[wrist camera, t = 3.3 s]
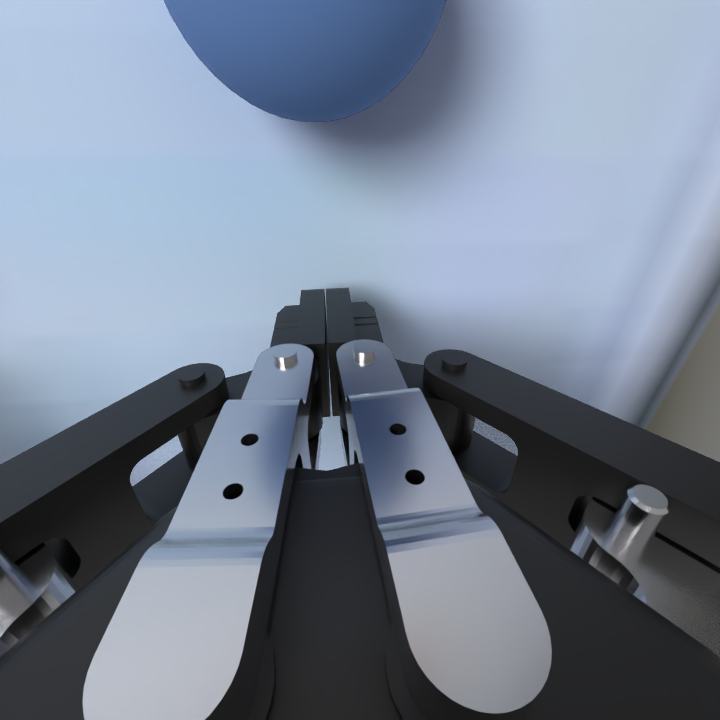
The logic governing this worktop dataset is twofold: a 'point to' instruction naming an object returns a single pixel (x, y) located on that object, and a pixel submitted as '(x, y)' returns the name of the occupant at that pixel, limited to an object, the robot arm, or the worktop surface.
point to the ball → (308, 49)
